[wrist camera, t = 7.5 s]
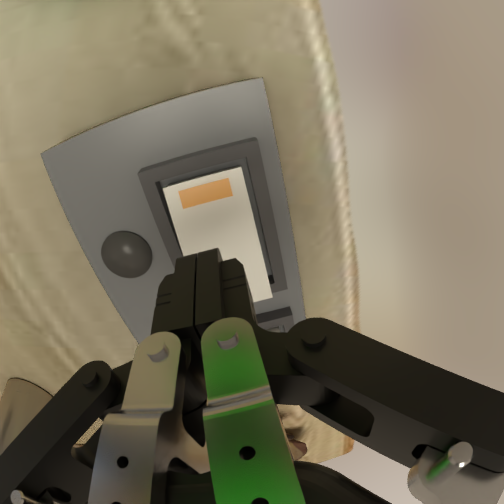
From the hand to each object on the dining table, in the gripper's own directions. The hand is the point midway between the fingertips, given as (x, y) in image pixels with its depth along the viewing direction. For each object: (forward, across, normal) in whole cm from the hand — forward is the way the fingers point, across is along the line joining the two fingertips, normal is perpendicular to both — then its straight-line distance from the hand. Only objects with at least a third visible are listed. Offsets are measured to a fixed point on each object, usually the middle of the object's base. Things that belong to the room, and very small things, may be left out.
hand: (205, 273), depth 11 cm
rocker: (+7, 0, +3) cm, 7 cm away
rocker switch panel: (+12, +2, +9) cm, 15 cm away
